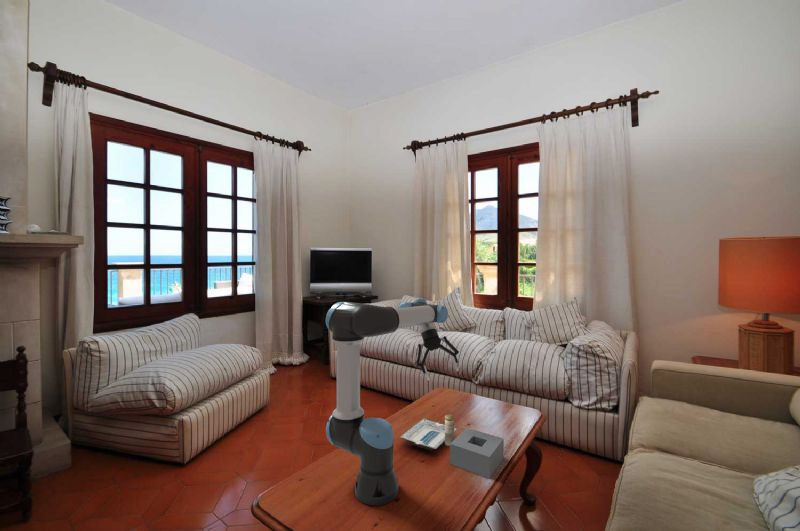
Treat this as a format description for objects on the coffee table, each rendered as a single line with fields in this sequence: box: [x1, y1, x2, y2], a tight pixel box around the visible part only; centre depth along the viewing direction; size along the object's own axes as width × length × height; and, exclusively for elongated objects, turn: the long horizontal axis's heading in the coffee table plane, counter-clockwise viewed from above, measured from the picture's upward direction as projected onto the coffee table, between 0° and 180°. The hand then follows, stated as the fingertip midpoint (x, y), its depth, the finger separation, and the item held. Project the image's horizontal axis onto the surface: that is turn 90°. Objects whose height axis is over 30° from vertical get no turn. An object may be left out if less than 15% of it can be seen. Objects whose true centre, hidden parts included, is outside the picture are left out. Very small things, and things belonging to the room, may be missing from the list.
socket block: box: [449, 427, 505, 480], centre depth 139 cm, size 16×16×8 cm
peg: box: [444, 414, 455, 447], centre depth 152 cm, size 4×4×12 cm
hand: (443, 375), depth 157 cm, fingers open, 13 cm apart
